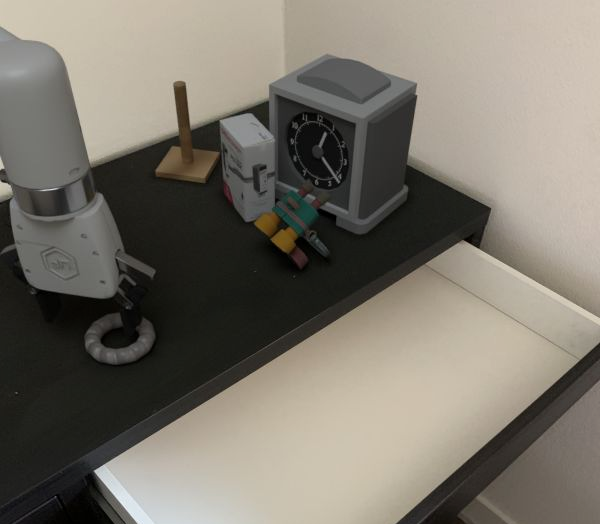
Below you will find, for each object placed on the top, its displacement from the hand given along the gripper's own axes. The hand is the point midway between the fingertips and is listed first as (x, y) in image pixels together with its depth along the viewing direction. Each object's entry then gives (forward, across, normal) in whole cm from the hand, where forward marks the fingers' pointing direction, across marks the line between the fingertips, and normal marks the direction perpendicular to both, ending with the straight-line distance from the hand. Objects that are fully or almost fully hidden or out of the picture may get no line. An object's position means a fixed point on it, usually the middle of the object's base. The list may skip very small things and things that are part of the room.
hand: (93, 321), depth 76 cm
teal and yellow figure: (+3, +19, +21) cm, 28 cm away
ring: (+2, +3, 0) cm, 3 cm away
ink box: (+3, +10, +32) cm, 34 cm away
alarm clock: (+3, +22, +38) cm, 44 cm away
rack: (+3, -2, +40) cm, 40 cm away
